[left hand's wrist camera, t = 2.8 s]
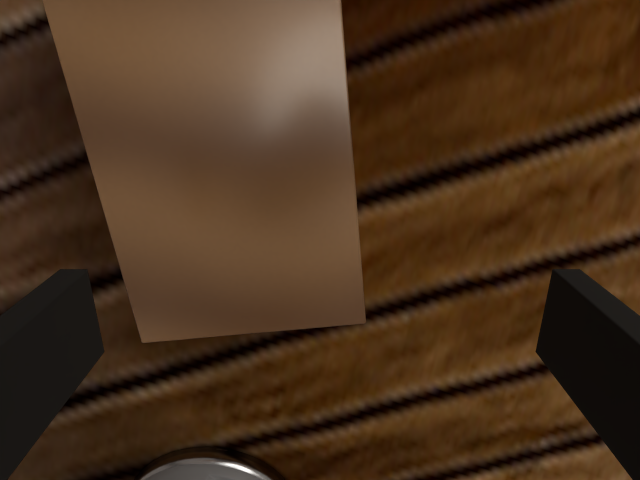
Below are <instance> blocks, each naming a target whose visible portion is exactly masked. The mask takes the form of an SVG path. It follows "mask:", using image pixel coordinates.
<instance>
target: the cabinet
mask: <svg viewBox="0 0 640 480" xmlns="http://www.w3.org/2000/svg"><path fill="white" fill-rule="evenodd" d="M42 1H43V4H44V8H45V11H46V15H47V18H48V22H49V25H50V29H51V32H52V35H53V39H54V42H55V46H56V49H57V53H58V56H59V59H60V63H61V66H62V70H63V73H64V77H65V80H66V83H67V87H68V90H69V94H70V97H71V101H72V104H73V108H74V111H75V114H76V118H77V121H78V125H79V128H80V132H81V135H82V138H83V142H84V145H85V149H86V152H87V156H88V159H89V162H90V166H91V169H92V173H93V176H94V180H95V183H96V187H97V190H98V193H99V197H100V200H101V204H102V207H103V211H104V214H105V217H106V221H107V224H108V228H109V231H110V235H111V238H112V241H113V245H114V248H115V252H116V255H117V259H118V262H119V266H120V269H121V272H122V276H123V279H124V283H125V286H126V290H127V293H128V296H129V300H130V303H131V307H132V310H133V314H134V317H135V320H136V324H137V327H138V331H139V334H140V338H141V341H142V343H149V342H160V341H172V340H183V339H194V338H205V337H217V336H228V335H239V334H250V333H262V332H273V331H284V330H295V329H307V328H318V327H329V326H340V325H352V324H363V323H366V317H365V304H364V291H363V278H362V266H361V253H360V240H359V227H358V214H357V201H356V188H355V175H354V162H353V149H352V136H351V123H350V111H349V98H348V85H347V72H346V59H345V46H344V33H343V20H342V7H341V0H42Z"/></svg>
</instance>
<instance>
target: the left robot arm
mask: <svg viewBox="0 0 640 480" xmlns="http://www.w3.org/2000/svg"><path fill="white" fill-rule="evenodd" d="M103 353H104V348H103V343H102V338H101V333H100V328H99V323H98V319H97V314H96V309H95V304H94V299H93V294H92V289H91V285H90V280H89V275H88V270H87V269H60V270H59V271H57V272H56V273H55V274H54V275H52V276H51V277H50V278H48V279H47V280H46V281H45V282H43V283H42V284H41V285H39V286H38V287H37V288H36V289H34V290H33V291H32V292H30V293H29V294H28V295H27V296H25V297H24V298H23V299H21V300H20V301H19V302H18V303H16V304H15V305H14V306H12V307H11V308H10V309H9V310H7V311H6V312H5V313H3V314H2V315H1V316H0V480H7V479H8V478H9V477H10V475H11V474H12V473H13V471H14V470H15V469H16V467H17V466H18V465H19V464H20V462H21V461H22V460H23V458H24V457H25V456H26V454H27V453H28V452H29V450H30V449H31V448H32V446H33V445H34V444H35V442H36V441H37V440H38V438H39V437H40V436H41V435H42V433H43V432H44V431H45V429H46V428H47V427H48V425H49V424H50V423H51V421H52V420H53V419H54V417H55V416H56V415H57V413H58V412H59V411H60V410H61V408H62V407H63V406H64V404H65V403H66V402H67V400H68V399H69V398H70V396H71V395H72V394H73V392H74V391H75V390H76V388H77V387H78V386H79V384H80V383H81V382H82V381H83V379H84V378H85V377H86V375H87V374H88V373H89V371H90V370H91V369H92V367H93V366H94V365H95V363H96V362H97V361H98V359H99V358H100V357H101V355H102V354H103ZM536 353H537V354H538V355H539V357H540V358H541V359H542V361H543V362H544V363H545V365H546V366H547V367H548V369H549V370H550V371H551V373H552V374H553V375H554V377H555V378H556V379H557V381H558V382H559V383H560V384H561V386H562V387H563V388H564V390H565V391H566V392H567V394H568V395H569V396H570V398H571V399H572V400H573V402H574V403H575V404H576V406H577V407H578V408H579V410H580V411H581V412H582V413H583V415H584V416H585V417H586V419H587V420H588V421H589V423H590V424H591V425H592V427H593V428H594V429H595V431H596V432H597V433H598V435H599V436H600V437H601V439H602V440H603V441H604V442H605V444H606V445H607V446H608V448H609V449H610V450H611V452H612V453H613V454H614V456H615V457H616V458H617V460H618V461H619V462H620V464H621V465H622V466H623V467H624V469H625V470H626V471H627V473H628V474H629V475H630V477H631V478H632V479H633V480H640V316H639V315H638V314H637V313H635V312H634V311H633V310H631V309H630V308H629V307H628V306H626V305H625V304H624V303H622V302H621V301H620V300H619V299H617V298H616V297H615V296H613V295H612V294H611V293H610V292H608V291H607V290H606V289H604V288H603V287H602V286H601V285H599V284H598V283H597V282H595V281H594V280H593V279H592V278H590V277H589V276H588V275H586V274H585V273H584V272H583V271H581V270H580V269H553V270H552V275H551V280H550V285H549V289H548V294H547V299H546V304H545V309H544V314H543V319H542V323H541V328H540V333H539V338H538V343H537V348H536ZM135 480H285V479H284V478H283V477H282V476H281V475H280V474H279V473H278V472H277V471H276V470H275V469H274V468H272V467H271V466H269V465H268V464H266V463H265V462H263V461H261V460H259V459H257V458H255V457H253V456H250V455H248V454H245V453H242V452H238V451H235V450H230V449H225V448H217V447H196V448H188V449H182V450H178V451H175V452H172V453H169V454H166V455H164V456H162V457H160V458H158V459H156V460H154V461H153V462H151V463H150V464H149V465H147V466H146V467H145V468H144V469H143V470H142V471H141V472H140V473H139V474H138V476H137V477H136V479H135Z"/></svg>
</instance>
